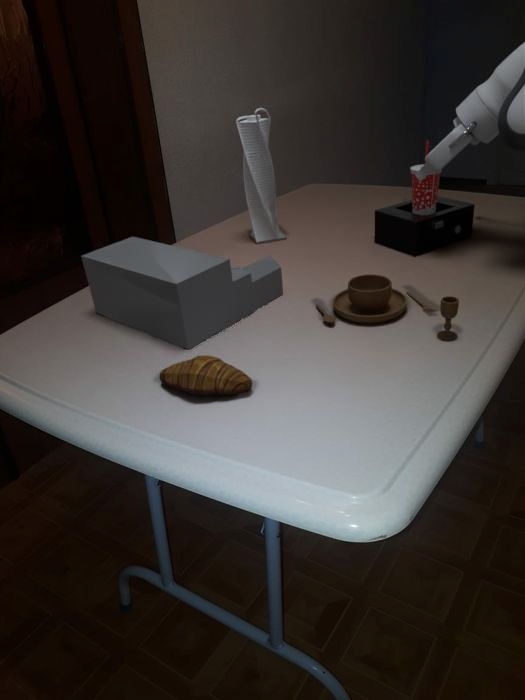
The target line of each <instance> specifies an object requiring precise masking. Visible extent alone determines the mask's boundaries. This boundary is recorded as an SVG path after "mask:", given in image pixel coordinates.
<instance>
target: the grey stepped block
mask: <svg viewBox="0 0 525 700" xmlns="http://www.w3.org/2000/svg"><path fill="white" fill-rule="evenodd" d="M80 257H81V258H80V259H81V261H82V265H83V269H84V272H85V276H86V280H87V283H88V284H87V285H88V287H89V291H90V294H91V298H92V302H93V306H94V309H95V313H96V312H97V313H96V314H98V313H99V314H98V315H100V314H102V315H101V316H103V315H104V316H103V317H105V316H106V317H105V318H108V319H111V320H113V321H115V322H118V323H121V324H123V325H125V326H128V327H131V328H133V329H136V330H138V331H140V332H143V333H146V334H148V335H151V336H153V337H156V338H158V339H161V340H163V341H166V342H168V343H171V344H174V345H176V346H179V347H181V348H183V349H186V350H190V349H193V348H194V347H196V346H198V345H199V344H201V343H203V342H204V341H206V340H208V339H209V338H212V337H213V336H215V335H217V334H219V333H220V332H222V331H224V330H226V329H227V328H229V327H230V326H232V325H233V324H236V323H238V322H239V321H241V320H243V319H244V318H246V317H248V316H249V315H251V314H253V313H255V311H256V310H258V309H260V308H262V307H263V306H265V305H267V304H269V303H270V302H272V301H273V300H275V299H277V298H279V297H281V296H282V295H284V286H283V285H284V284H283V274H282V266H281V265H280V264H279V263H278V262H277V261H276V260H275V259H274V258H273V256H272V255H271V254H268V255H266V256H265V257H262V258H260V259H258V260H256V261H254V262H252V263H250V264H248V265H246V266H244V267H238V266H231V265H232V264H231V258H227V257H223V256H218V255H214V254H210V253H205V252H200V251H197V250H192V249H188V248H184V247H180V246H174V245H171V244H166V243H163V242H159V241H153V240H150V239H145V238H140V237H137V236H130V237H128V238H125V239H123V240H121V241H120V240H119V241H117V242H114V243H112V244H109V245H106V246H104V247H100V248H98V249H96V250H93V251H90V252H88V253H84V254H82V255H80Z"/></svg>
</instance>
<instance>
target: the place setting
mask: <svg viewBox="0 0 525 700" xmlns="http://www.w3.org/2000/svg"><path fill="white" fill-rule="evenodd" d="M406 293H407V295H409V297H411V298H412V299H414V300H415V301H416V302H417V303H418V304H420V305H421V306H422V310H423V311H425V312H427V313H434V312H438V310H437V309H434V308H432V307H429V306H427V305H426V304H425V303H424V302H423V301H421V299H419V298H418V297H417V296H415V295H414V294H412V292H410V291H406ZM332 306H333V310H334V311H335V312H336V313H337V314H338V315H339V316H340V317H342V318H343V319H346V320H348V321H352V322H355V323H361V324H378V323H383V322H387V321H390V320H393V319H396V318H397V317H399V316H400V315H402V313H403V312H404V311H405V310H406V309H407V306H408V297H407V296H406V295H405V294H404V293H403V292H402V291H400V290H398V289H395V288H393V282H392V280H391V279H390V278H389V277H387V276H384V275H381V274H374V273H373V274H371V273H370V274H361V275H360V274H359V275H357V276H354V277H352V278H350V279H349V280H348V282H347V289H343V290H342V291H340V292H338V293H337V294H336V295H334V297H333V300H332ZM439 306H440V307H439V308H440V309H439V310H440V315H441V317H442V318H444V321H445V322H444V325H443V329H444V330H441V331H438V332H437V334H436V337H437V338H438V339H439V340H441V341H447V342H451V341H455V340H456V339H458V334H457V333H456V332H455V331H452V330H451V329H452V327H453V326H452V320H453V319H454V318H456V317H457V316H458V312H459V306H460V299H459V298H458V297H456V296H452V295H447V296H443V297H441V299H440V305H439ZM315 307H316V308H317V309H318V310H319V311H320V312H321V313H322V314H323V317H322V320H323V321H324V322H325V323H327V324H333V323H335V322H336V317H335V316H334V315H331V314H329V313H327V312H326V311H325V310H324V309H323V307H322V306H321V305H320V304H318V303H316V304H315Z"/></svg>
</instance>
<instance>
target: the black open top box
mask: <svg viewBox="0 0 525 700" xmlns="http://www.w3.org/2000/svg"><path fill="white" fill-rule="evenodd" d="M475 205H476V204H475V203H470V202H466V201H462V200H458V199H453V198H449V197H444V196H440V195H437V204H436V212H435V213H433V214H430V215H418V214H414V213H413V210H412V199H409V200H406V201H403V202H399V203H396V204H392V205H389V206H385V207H382V208H378V209H375V210H374V243H375V244H376V245H380V246H383V247H386V248H389V249H392V250H395V251H397V252H400V253H403V254H406V255H409V256H412V257H414V258H415V257H416V258H417V257H418V256H422V255H424V254H427V253H430V252H433V251H436V250H439V249H441V248H445V247H448V246H451V245H454V244H456V243H460V242H462V241H465V240H468V239H470V238H472V237H473V227H474V217H475V216H474V215H475Z"/></svg>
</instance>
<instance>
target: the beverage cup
mask: <svg viewBox="0 0 525 700" xmlns="http://www.w3.org/2000/svg"><path fill="white" fill-rule="evenodd" d="M428 154H429V140H426V141H425V156H424V158H425V157H426V156H427V155H428ZM425 163H426V161H425V160H424V163H423V164H415V165H413V166H410V168H409V170H410V173H409V174H411V200H412V210H413V213H414V214H418V215H430V214H433V213H435V212H436V204H437V196H439V195H438V193H439V187H440V179H441V178H440V177H441V173H442V172H443V168H442V169H441V170H440V171H439V172H435V171H432V172H431V173H430V174H428V175H427V176H426V177H425V178H424V179H423V180H421V181H420V180H419V179H418V178H417V177H416V176H415V174H416V173H417V172H418V171H419V170H420V169H421V168H422V167H423V165H424V164H425Z"/></svg>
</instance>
